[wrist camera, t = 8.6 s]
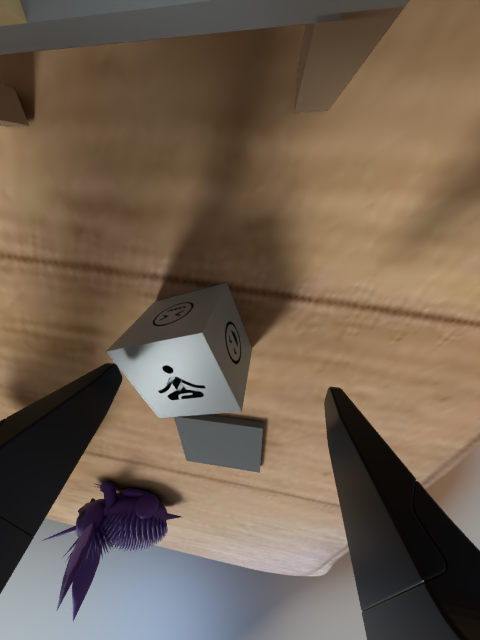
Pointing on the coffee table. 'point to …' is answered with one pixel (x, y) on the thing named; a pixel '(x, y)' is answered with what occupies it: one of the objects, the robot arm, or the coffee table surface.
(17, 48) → the small grey table
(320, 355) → the coffee table surface
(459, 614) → the robot arm
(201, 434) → the mat
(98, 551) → the creature
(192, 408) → the dice cube
